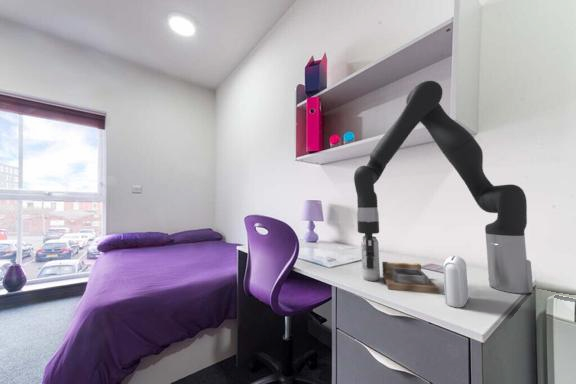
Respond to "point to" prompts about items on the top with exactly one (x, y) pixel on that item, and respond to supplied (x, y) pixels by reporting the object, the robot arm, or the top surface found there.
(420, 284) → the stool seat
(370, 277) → the energy drink can
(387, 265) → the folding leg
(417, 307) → the top surface
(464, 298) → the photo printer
